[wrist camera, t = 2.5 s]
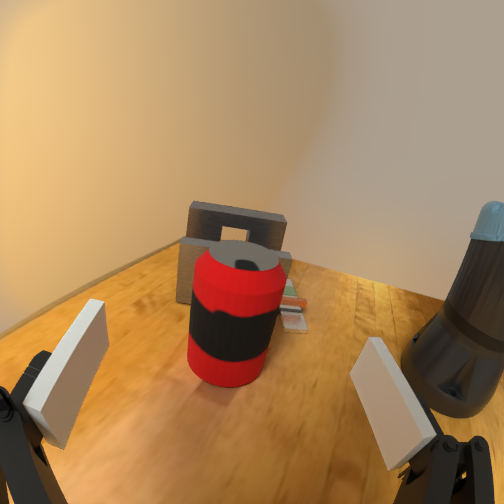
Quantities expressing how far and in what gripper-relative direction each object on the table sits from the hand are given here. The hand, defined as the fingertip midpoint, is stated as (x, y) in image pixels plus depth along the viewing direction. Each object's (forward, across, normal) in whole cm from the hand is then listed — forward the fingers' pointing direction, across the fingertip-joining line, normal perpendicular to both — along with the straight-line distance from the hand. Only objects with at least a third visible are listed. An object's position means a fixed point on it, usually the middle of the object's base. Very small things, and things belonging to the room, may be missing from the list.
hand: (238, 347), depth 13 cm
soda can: (+11, +1, -12) cm, 16 cm away
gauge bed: (+25, +2, -12) cm, 28 cm away
